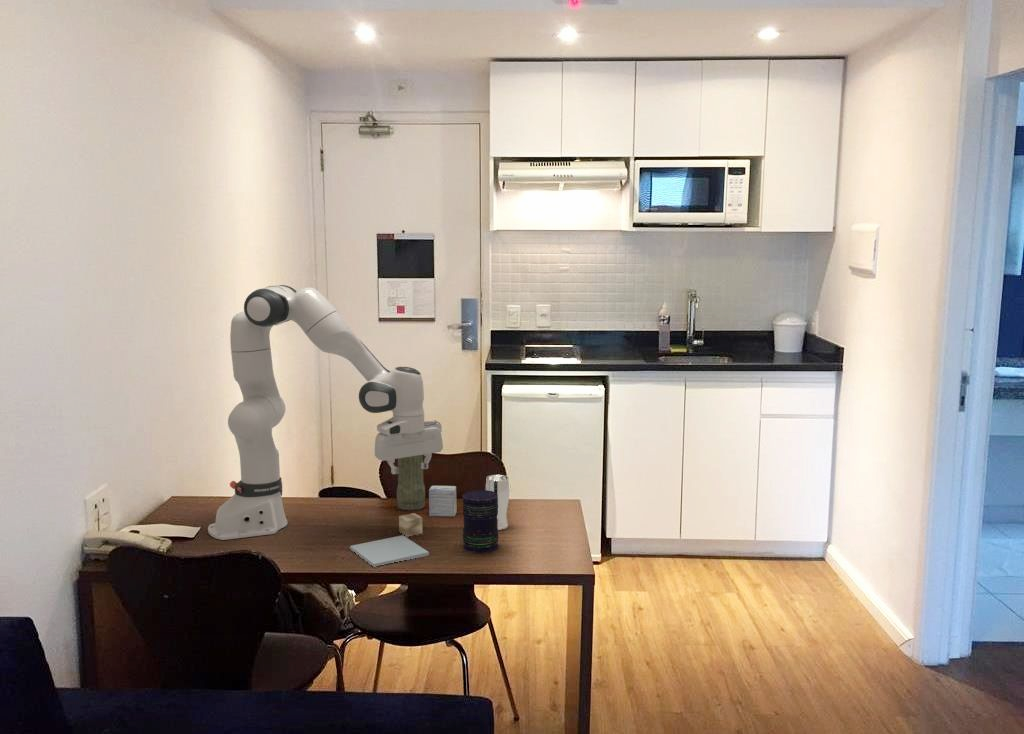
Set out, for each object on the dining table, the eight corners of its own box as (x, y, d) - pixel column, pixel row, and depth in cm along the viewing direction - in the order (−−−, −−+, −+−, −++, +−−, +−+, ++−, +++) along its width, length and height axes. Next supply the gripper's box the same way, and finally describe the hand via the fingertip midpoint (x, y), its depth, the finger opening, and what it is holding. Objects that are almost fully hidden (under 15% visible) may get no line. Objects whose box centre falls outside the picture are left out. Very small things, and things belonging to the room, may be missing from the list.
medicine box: (456, 512, 274) (456, 485, 273) (454, 517, 270) (454, 489, 269) (431, 512, 275) (431, 485, 274) (429, 516, 271) (428, 489, 270)
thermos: (392, 512, 275) (390, 402, 269) (402, 501, 286) (399, 395, 281) (420, 513, 274) (418, 402, 268) (428, 502, 285) (427, 395, 280)
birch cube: (406, 537, 252) (406, 520, 252) (399, 532, 257) (398, 516, 256) (422, 534, 255) (422, 517, 254) (414, 529, 259) (414, 513, 258)
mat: (374, 567, 229) (374, 564, 229) (350, 549, 243) (350, 545, 242) (428, 555, 238) (428, 552, 238) (402, 538, 251) (402, 535, 251)
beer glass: (488, 531, 257) (487, 481, 255) (483, 523, 264) (483, 475, 262) (511, 529, 258) (511, 480, 256) (506, 522, 265) (506, 473, 263)
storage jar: (462, 541, 249) (462, 490, 247) (497, 540, 249) (497, 489, 247) (462, 554, 239) (462, 500, 237) (499, 553, 240) (498, 500, 237)
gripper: (436, 417, 259) (436, 463, 261) (371, 426, 248) (373, 473, 250) (446, 421, 254) (447, 468, 256) (380, 430, 243) (382, 479, 245)
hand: (410, 471), depth 253 cm, fingers open, 8 cm apart
